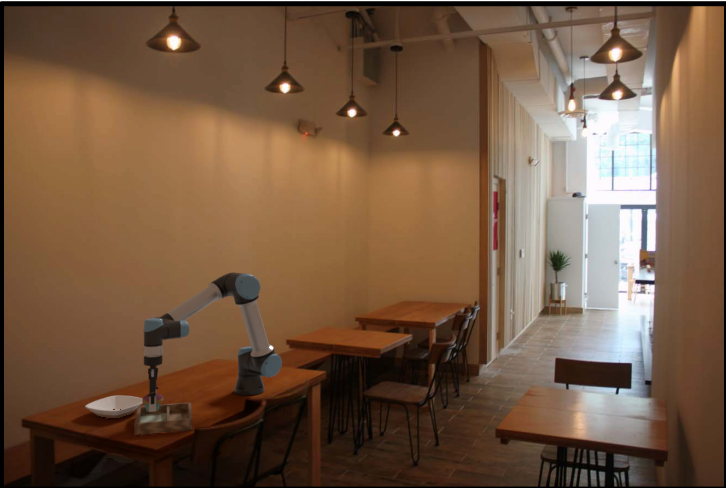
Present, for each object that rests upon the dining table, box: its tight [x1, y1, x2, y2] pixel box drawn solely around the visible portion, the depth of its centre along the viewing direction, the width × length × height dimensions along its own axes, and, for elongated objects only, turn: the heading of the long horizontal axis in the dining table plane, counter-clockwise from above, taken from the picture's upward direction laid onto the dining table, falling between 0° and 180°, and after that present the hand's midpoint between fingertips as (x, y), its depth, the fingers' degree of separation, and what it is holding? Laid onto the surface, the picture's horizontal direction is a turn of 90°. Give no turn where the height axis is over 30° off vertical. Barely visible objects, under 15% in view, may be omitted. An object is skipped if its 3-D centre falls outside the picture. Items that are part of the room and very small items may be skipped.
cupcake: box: [142, 393, 165, 412], centre depth 248 cm, size 9×8×12 cm
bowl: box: [84, 395, 144, 419], centre depth 262 cm, size 22×22×5 cm
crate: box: [133, 402, 193, 435], centre depth 249 cm, size 22×24×5 cm
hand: (153, 408), depth 248 cm, fingers closed on cupcake, 8 cm apart
